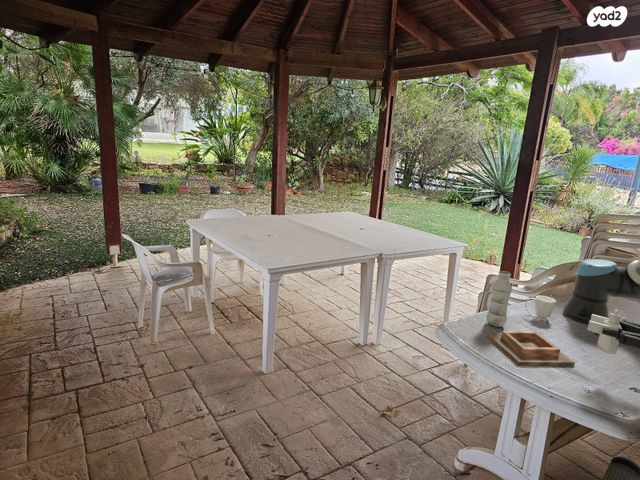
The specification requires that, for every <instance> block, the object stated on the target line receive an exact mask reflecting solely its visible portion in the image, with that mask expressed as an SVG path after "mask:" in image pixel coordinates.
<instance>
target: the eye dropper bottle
mask: <svg viewBox="0 0 640 480" xmlns="http://www.w3.org/2000/svg"><path fill="white" fill-rule="evenodd" d="M608 316H609V320H605V321H604V322H603V324H604V325H608V326H612V327H615V328H618V329H619V328H621V326H620V325H619V322H620V321H621V314H619V310H618V309H614V311H613V312H610V313H609V315H608ZM621 329H622V328H621ZM619 344H620V343H619V340H617V339H616V338H613V337H609V336H606V335H602V334H599V336H598V340H597V347H598V348H599V349H600V350H601V352H604V353H606V354H610V355H616V354H617V351H618V347H619Z"/></svg>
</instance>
